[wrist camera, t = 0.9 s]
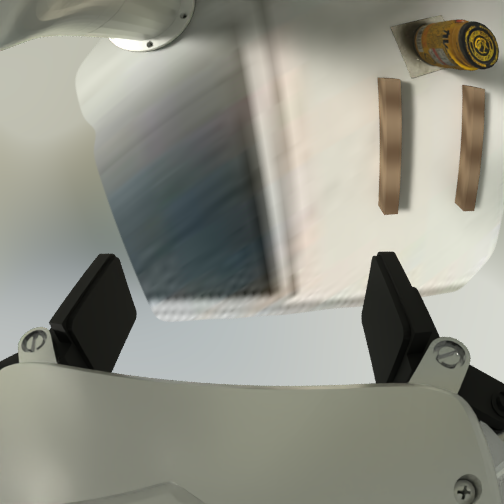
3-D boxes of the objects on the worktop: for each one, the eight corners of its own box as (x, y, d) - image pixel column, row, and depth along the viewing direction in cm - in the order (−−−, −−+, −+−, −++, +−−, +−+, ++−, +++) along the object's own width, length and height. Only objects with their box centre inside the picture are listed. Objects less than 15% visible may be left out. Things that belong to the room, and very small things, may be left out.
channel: (377, 77, 34) (385, 78, 32) (473, 86, 32) (484, 89, 30) (378, 205, 44) (384, 214, 41) (464, 202, 42) (473, 210, 39)
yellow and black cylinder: (459, 64, 31) (512, 71, 21) (410, 78, 34) (456, 86, 23) (440, 15, 28) (490, 7, 18) (389, 27, 30) (430, 17, 20)
